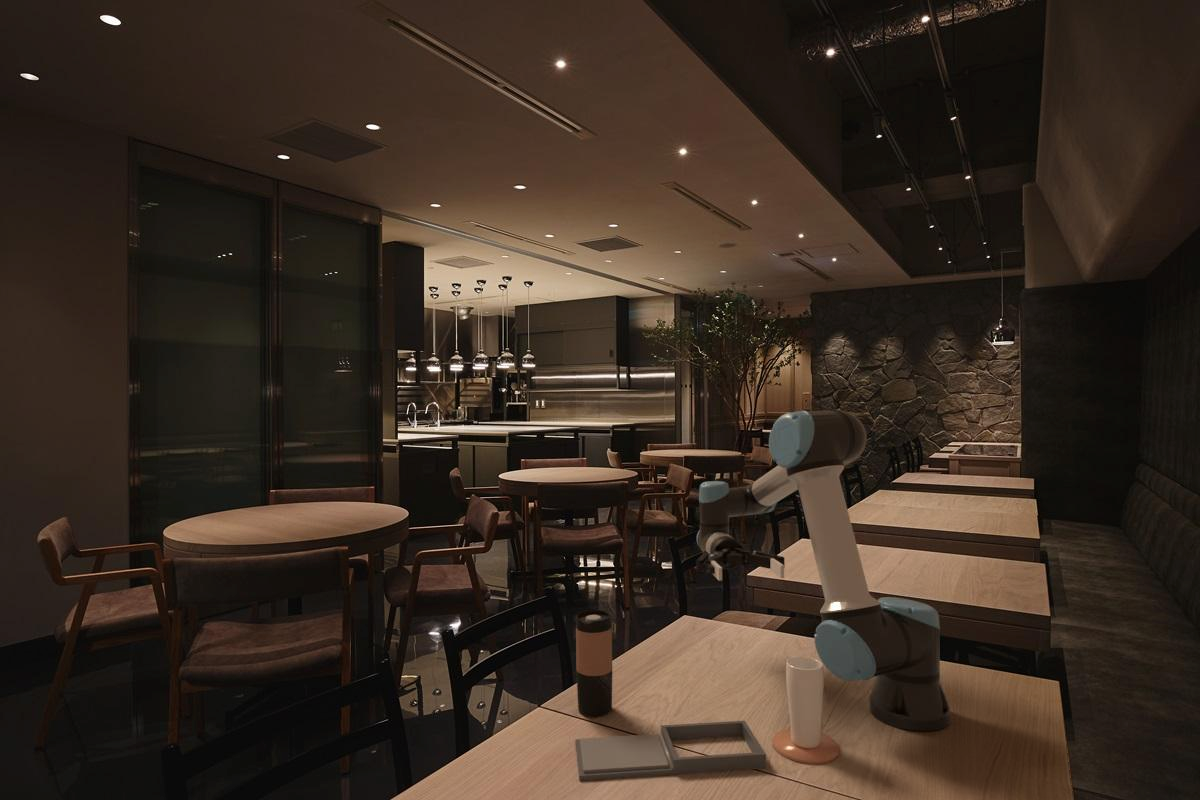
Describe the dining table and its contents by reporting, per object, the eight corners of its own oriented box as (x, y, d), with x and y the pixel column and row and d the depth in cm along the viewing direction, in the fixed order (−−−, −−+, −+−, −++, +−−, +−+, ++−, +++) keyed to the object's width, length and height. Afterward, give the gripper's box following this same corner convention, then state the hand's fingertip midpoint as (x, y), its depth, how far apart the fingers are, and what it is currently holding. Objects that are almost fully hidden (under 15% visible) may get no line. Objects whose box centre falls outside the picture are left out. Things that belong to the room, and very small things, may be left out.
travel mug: (605, 698, 149) (603, 607, 149) (618, 713, 142) (617, 618, 142) (572, 705, 147) (570, 612, 146) (584, 720, 139) (582, 623, 139)
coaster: (823, 729, 134) (822, 726, 134) (850, 761, 122) (850, 758, 122) (763, 732, 133) (763, 729, 133) (785, 766, 121) (785, 762, 121)
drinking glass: (780, 743, 128) (779, 663, 128) (797, 730, 133) (796, 653, 133) (814, 755, 123) (813, 673, 123) (830, 742, 128) (829, 662, 128)
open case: (744, 733, 133) (744, 720, 133) (766, 768, 121) (766, 754, 121) (575, 743, 130) (575, 730, 130) (579, 780, 118) (579, 766, 118)
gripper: (774, 564, 168) (808, 588, 147) (674, 568, 166) (694, 592, 145) (773, 533, 168) (807, 553, 147) (674, 537, 166) (694, 557, 145)
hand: (751, 573), depth 146 cm, fingers open, 13 cm apart
